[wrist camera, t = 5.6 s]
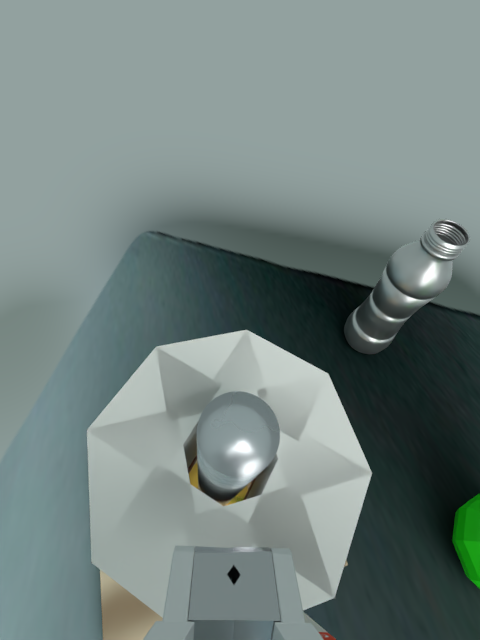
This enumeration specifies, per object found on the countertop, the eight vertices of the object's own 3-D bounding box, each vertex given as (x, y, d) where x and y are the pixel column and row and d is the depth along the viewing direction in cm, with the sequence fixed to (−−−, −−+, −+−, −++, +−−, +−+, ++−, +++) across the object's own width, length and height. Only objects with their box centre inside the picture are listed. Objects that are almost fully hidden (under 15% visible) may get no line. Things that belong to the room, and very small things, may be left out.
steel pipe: (252, 521, 32) (356, 503, 11) (187, 542, 31) (161, 570, 9) (235, 454, 35) (290, 338, 14) (176, 470, 34) (137, 369, 13)
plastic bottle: (333, 347, 46) (411, 241, 29) (346, 312, 49) (421, 200, 33) (378, 367, 45) (485, 270, 28) (387, 330, 48) (487, 223, 32)
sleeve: (347, 554, 19) (413, 565, 13) (133, 636, 16) (95, 695, 10) (279, 368, 25) (304, 318, 19) (114, 404, 22) (84, 359, 16)
